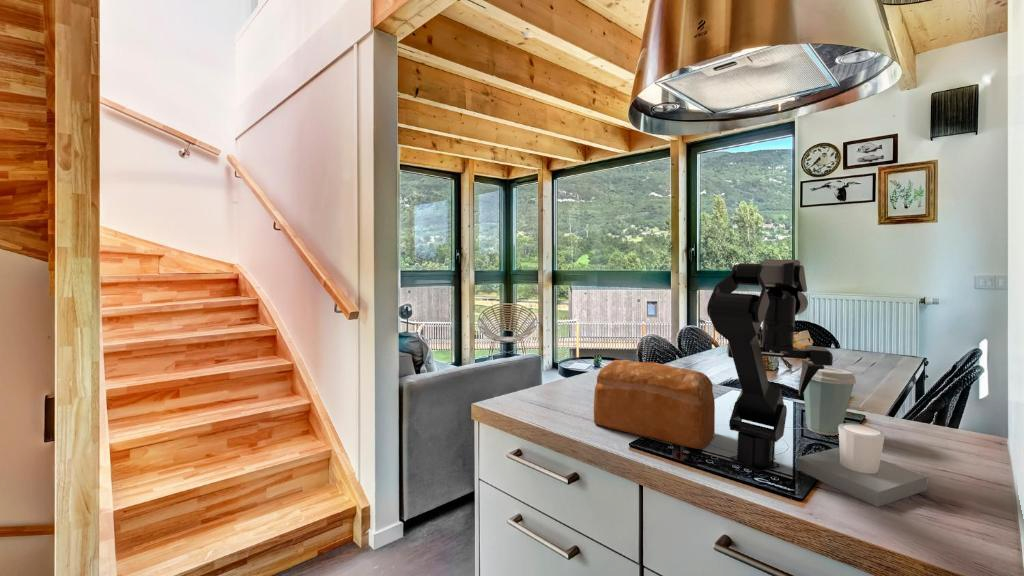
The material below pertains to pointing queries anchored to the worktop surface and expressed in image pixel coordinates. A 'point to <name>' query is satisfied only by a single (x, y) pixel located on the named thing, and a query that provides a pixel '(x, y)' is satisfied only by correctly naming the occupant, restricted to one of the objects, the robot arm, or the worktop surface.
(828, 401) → the disposable coffee cup
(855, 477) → the slate board
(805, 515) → the worktop surface
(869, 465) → the white cup
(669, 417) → the bread
